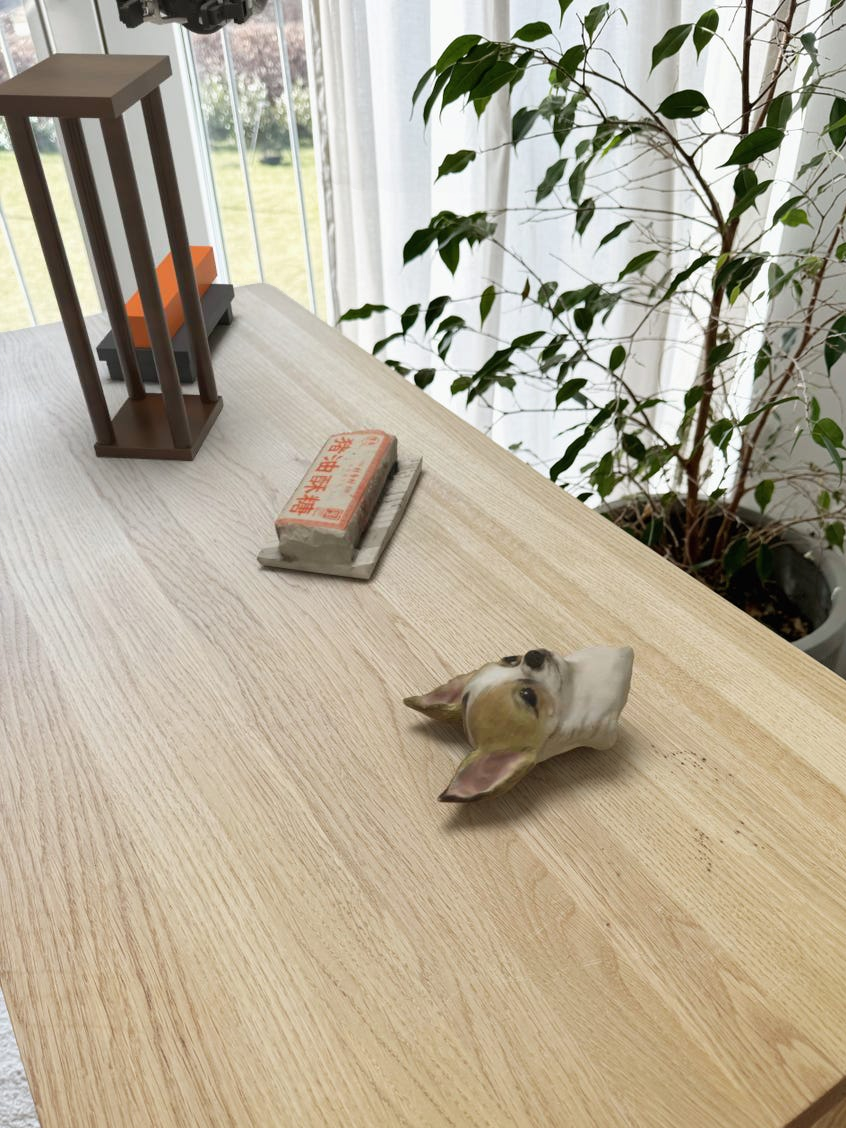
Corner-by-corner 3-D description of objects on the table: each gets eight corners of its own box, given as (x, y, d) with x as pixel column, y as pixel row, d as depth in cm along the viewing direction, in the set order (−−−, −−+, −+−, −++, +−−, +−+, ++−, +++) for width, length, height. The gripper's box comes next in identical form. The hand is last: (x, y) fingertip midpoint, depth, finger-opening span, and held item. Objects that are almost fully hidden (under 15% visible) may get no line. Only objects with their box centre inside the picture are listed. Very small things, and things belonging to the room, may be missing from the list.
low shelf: (158, 313, 123) (150, 281, 120) (238, 316, 122) (233, 284, 119) (104, 382, 109) (95, 347, 106) (194, 386, 109) (187, 351, 106)
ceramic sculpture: (669, 683, 61) (431, 746, 58) (660, 776, 67) (444, 837, 64) (603, 580, 69) (390, 632, 66) (600, 672, 74) (405, 722, 72)
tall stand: (139, 392, 107) (55, 52, 86) (230, 396, 107) (169, 55, 86) (90, 461, 97) (-19, 94, 76) (191, 466, 96) (110, 97, 75)
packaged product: (367, 535, 79) (248, 521, 81) (372, 584, 83) (257, 569, 84) (423, 424, 93) (319, 413, 94) (425, 469, 96) (325, 458, 97)
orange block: (181, 274, 122) (175, 245, 119) (217, 275, 121) (212, 246, 119) (123, 347, 107) (115, 315, 104) (164, 348, 106) (157, 316, 104)
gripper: (271, 28, 122) (236, 59, 110) (156, 26, 123) (109, 56, 111) (262, -46, 117) (224, -23, 105) (143, -48, 118) (92, -25, 106)
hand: (165, 18), depth 108 cm, fingers open, 8 cm apart
